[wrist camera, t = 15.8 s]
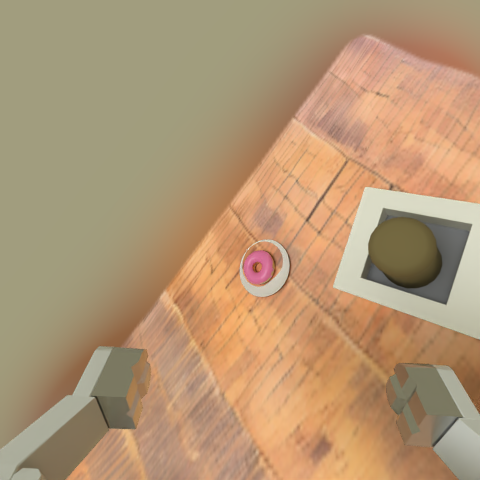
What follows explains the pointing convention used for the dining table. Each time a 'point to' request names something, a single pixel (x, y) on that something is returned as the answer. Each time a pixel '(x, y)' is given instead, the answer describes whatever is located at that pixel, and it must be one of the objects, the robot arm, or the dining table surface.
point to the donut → (264, 272)
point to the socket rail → (449, 244)
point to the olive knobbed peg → (405, 252)
